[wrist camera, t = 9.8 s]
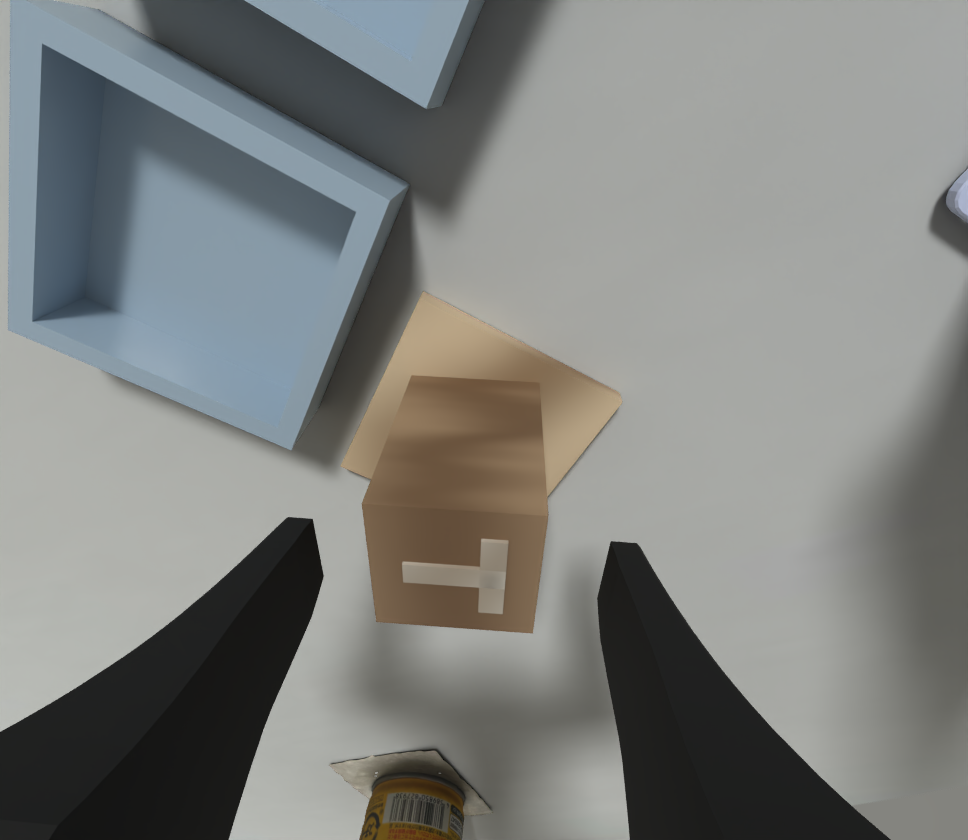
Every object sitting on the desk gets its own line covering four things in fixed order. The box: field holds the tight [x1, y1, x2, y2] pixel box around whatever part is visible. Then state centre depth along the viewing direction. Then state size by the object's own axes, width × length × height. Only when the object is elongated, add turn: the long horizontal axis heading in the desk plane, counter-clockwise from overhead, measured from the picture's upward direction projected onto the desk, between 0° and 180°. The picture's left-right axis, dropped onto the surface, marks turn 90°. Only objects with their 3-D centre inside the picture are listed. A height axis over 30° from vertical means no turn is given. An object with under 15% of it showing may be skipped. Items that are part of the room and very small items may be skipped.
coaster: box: [341, 291, 622, 497], centre depth 18 cm, size 7×7×1 cm
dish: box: [8, 0, 410, 450], centre depth 14 cm, size 8×8×2 cm
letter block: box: [362, 375, 548, 633], centre depth 15 cm, size 4×4×6 cm
